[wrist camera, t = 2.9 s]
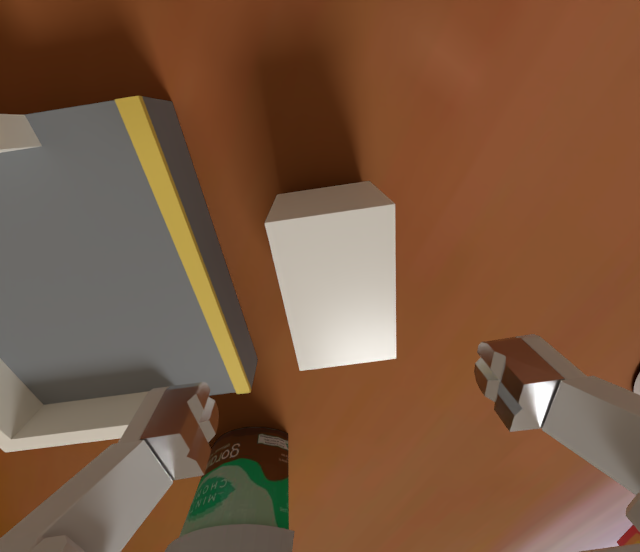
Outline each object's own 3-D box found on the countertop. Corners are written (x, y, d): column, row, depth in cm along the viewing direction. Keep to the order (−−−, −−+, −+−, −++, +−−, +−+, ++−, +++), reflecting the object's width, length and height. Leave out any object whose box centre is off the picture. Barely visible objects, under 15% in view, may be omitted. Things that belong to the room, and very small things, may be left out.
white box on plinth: (364, 176, 16) (395, 203, 10) (370, 291, 20) (396, 358, 14) (279, 188, 16) (264, 223, 11) (302, 301, 20) (299, 370, 14)
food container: (244, 400, 25) (210, 549, 16) (297, 426, 27) (293, 571, 18) (177, 461, 29) (120, 607, 20) (227, 480, 31) (196, 619, 22)
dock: (171, 101, 14) (101, 88, 9) (257, 359, 23) (244, 422, 18) (-126, 149, 15) (-340, 160, 10) (68, 384, 23) (5, 452, 18)
